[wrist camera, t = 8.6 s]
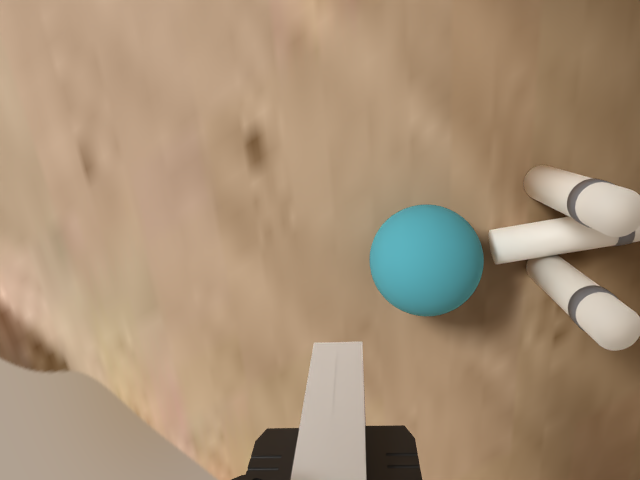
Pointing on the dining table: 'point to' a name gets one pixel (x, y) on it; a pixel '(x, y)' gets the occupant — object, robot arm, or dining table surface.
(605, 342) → the pin
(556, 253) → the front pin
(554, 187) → the pin
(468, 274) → the teal ball
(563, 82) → the dining table surface
